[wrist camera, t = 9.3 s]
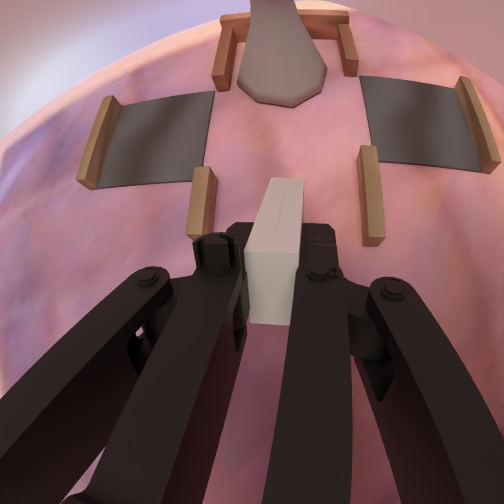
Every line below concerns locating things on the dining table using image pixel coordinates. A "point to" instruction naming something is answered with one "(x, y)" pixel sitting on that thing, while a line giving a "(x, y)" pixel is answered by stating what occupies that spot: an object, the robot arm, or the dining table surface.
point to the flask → (280, 56)
